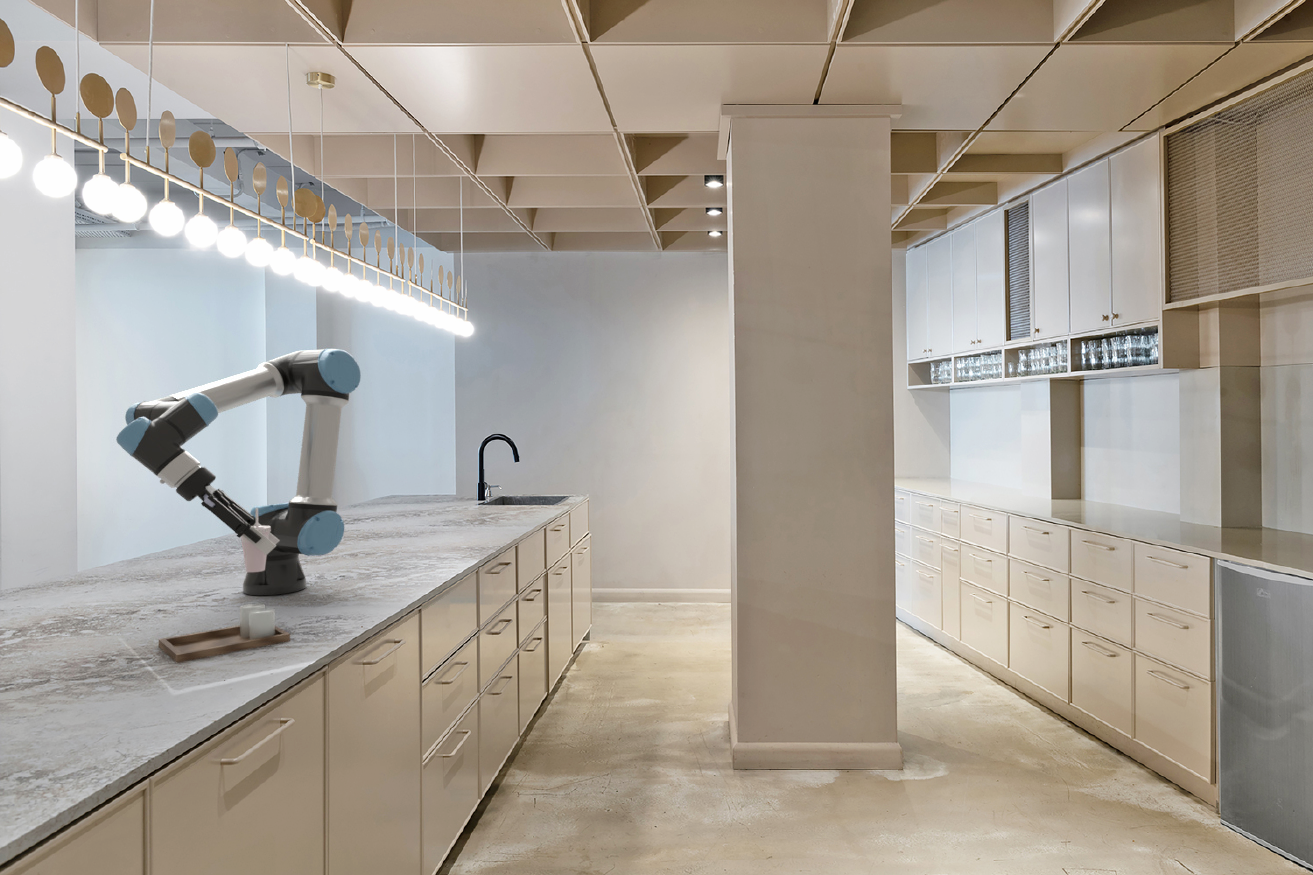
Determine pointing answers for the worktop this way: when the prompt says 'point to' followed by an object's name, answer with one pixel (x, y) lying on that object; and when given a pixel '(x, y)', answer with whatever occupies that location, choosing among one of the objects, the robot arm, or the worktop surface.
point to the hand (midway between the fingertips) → (273, 547)
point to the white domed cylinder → (261, 623)
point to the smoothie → (255, 550)
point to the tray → (215, 643)
